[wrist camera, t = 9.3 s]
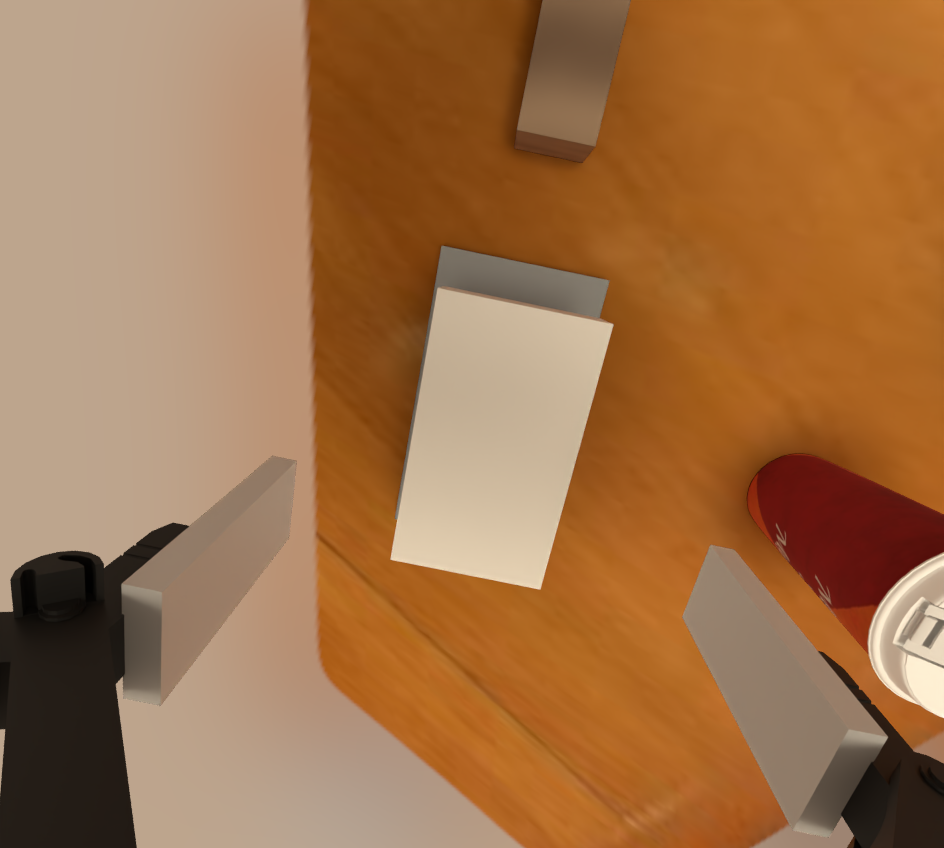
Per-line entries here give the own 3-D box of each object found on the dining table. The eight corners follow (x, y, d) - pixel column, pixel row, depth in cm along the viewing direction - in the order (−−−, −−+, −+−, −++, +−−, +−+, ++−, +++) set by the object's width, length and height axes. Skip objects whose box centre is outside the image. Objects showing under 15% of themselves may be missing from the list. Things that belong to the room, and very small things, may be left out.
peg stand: (443, 246, 31) (431, 240, 25) (605, 280, 31) (631, 282, 25) (398, 511, 36) (378, 558, 30) (536, 539, 36) (544, 591, 30)
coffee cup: (709, 531, 36) (855, 707, 21) (760, 421, 33) (963, 536, 19) (823, 562, 36) (1042, 757, 21) (881, 456, 33) (1171, 595, 19)
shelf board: (444, 286, 26) (437, 287, 23) (600, 318, 26) (613, 324, 23) (400, 531, 30) (390, 559, 27) (536, 558, 30) (540, 589, 27)
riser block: (547, -18, 27) (555, -66, 23) (621, -2, 27) (642, -48, 23) (514, 148, 29) (516, 129, 25) (582, 162, 29) (595, 146, 25)
